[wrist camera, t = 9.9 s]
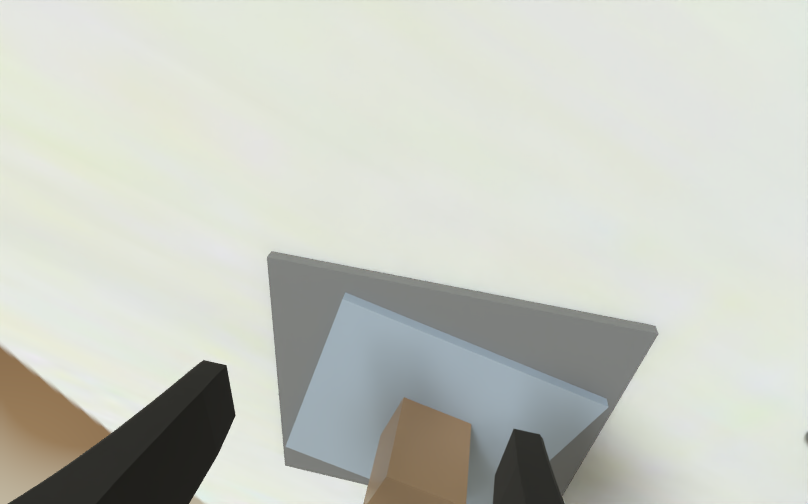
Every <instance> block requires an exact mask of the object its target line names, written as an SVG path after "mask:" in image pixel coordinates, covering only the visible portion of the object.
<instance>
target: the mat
mask: <svg viewBox="0 0 808 504" xmlns="http://www.w3.org/2000/svg"><path fill="white" fill-rule="evenodd" d="M267 262H268V274H269V285H270V297H271V308H272V320H273V331H274V343H275V354H276V365H277V377H278V388H279V400H280V411H281V423H282V434H283V446H284V457H285V465H286V466H290V467H294V468H298V469H302V470H307V471H311V472H315V473H319V474H323V475H328V476H332V477H336V478H340V479H344V480H349V481H353V482H357V483H361V484H365V485H368V483H369V479H368V478H366V477H363V476H361V475H358V474H355V473H353V472H350V471H348V470H345V469H342V468H340V467H337V466H335V465H332V464H329V463H327V462H324V461H322V460H319V459H316V458H314V457H311V456H309V455H306V454H303V453H301V452H298V451H296V450H293V449H290V448H288V447H285V446H286V444H287V441H288V439H289V436H290V434H291V431H292V428H293V426H294V423H295V421H296V418H297V415H298V413H299V410H300V408H301V405H302V403H303V400H304V397H305V395H306V392H307V390H308V387H309V384H310V382H311V379H312V377H313V374H314V371H315V369H316V366H317V364H318V361H319V359H320V356H321V353H322V351H323V348H324V346H325V343H326V340H327V338H328V335H329V333H330V330H331V328H332V325H333V322H334V320H335V317H336V315H337V312H338V309H339V307H340V304H341V302H342V299H343V297H344V295H345V293H348V294H351V295H353V296H355V297H358V298H360V299H363V300H365V301H368V302H370V303H373V304H375V305H378V306H380V307H382V308H385V309H387V310H390V311H392V312H395V313H397V314H400V315H402V316H405V317H407V318H409V319H412V320H414V321H417V322H419V323H422V324H424V325H427V326H429V327H432V328H434V329H437V330H439V331H441V332H444V333H446V334H449V335H451V336H454V337H456V338H459V339H461V340H464V341H466V342H468V343H471V344H473V345H476V346H478V347H481V348H483V349H486V350H488V351H491V352H493V353H495V354H498V355H500V356H503V357H505V358H508V359H510V360H513V361H515V362H518V363H520V364H522V365H525V366H527V367H530V368H532V369H535V370H537V371H540V372H542V373H545V374H547V375H549V376H552V377H554V378H557V379H559V380H562V381H564V382H567V383H569V384H572V385H574V386H577V387H579V388H581V389H584V390H586V391H589V392H591V393H594V394H596V395H599V396H601V397H604V398H606V399H607V402H608V406H609V407H608V408H607V409H606V410H605V411H604V412H603V413H602V414H601V415H599V416H598V417H597V418H596V419H595V420H594V421H593V422H592V423H591V424H590V425H588V426H587V427H586V428H585V429H584V430H583V431H582V432H581V433H580V434H578V435H577V436H576V437H575V438H574V439H573V440H572V441H571V442H570V443H569V444H567V445H566V446H565V447H564V448H563V449H562V450H561V451H560V452H559V453H558V454H556V455H555V456H554V457H553V458H552V459H551V460H550V464H551V467H552V470H553V473H554V476H555V479H556V482H557V485H558V487H559V490H560V493H561V496H562V495H563V494H564V492H565V490H566V488H567V487H568V485H569V483H570V482H571V480H572V478H573V477H574V475H575V473H576V472H577V470H578V468H579V467H580V465H581V463H582V462H583V460H584V458H585V456H586V455H587V453H588V451H589V450H590V448H591V446H592V445H593V443H594V441H595V440H596V438H597V436H598V435H599V433H600V431H601V430H602V428H603V426H604V424H605V423H606V421H607V419H608V418H609V416H610V414H611V413H612V411H613V409H614V408H615V406H616V404H617V403H618V401H619V399H620V398H621V396H622V394H623V392H624V391H625V389H626V387H627V386H628V384H629V382H630V381H631V379H632V377H633V376H634V374H635V372H636V371H637V369H638V367H639V366H640V364H641V362H642V360H643V359H644V357H645V355H646V354H647V352H648V350H649V349H650V347H651V345H652V344H653V342H654V340H655V339H656V337H657V335H658V332H657V329H656V327H655V326H653V325H648V324H643V323H637V322H632V321H627V320H622V319H617V318H612V317H607V316H601V315H596V314H591V313H586V312H581V311H576V310H571V309H565V308H560V307H555V306H550V305H545V304H540V303H534V302H529V301H524V300H519V299H514V298H509V297H504V296H498V295H493V294H488V293H483V292H478V291H473V290H467V289H462V288H457V287H452V286H447V285H442V284H437V283H431V282H426V281H421V280H416V279H411V278H406V277H400V276H395V275H390V274H385V273H380V272H375V271H370V270H364V269H359V268H354V267H349V266H344V265H339V264H334V263H328V262H323V261H318V260H313V259H308V258H303V257H297V256H292V255H287V254H282V253H277V252H272V251H271V253H270V254H269V255H268V257H267Z"/></svg>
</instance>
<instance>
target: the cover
mask: <svg viewBox="0 0 808 504" xmlns="http://www.w3.org/2000/svg"><path fill="white" fill-rule="evenodd" d="M608 407H609V406H608V402H607V399H606V398H604V397H601V396H599V395H596V394H594V393H591V392H589V391H586V390H584V389H581V388H579V387H577V386H574V385H572V384H569V383H567V382H564V381H562V380H559V379H557V378H554V377H552V376H549V375H547V374H545V373H542V372H540V371H537V370H535V369H532V368H530V367H527V366H525V365H522V364H520V363H518V362H515V361H513V360H510V359H508V358H505V357H503V356H500V355H498V354H495V353H493V352H491V351H488V350H486V349H483V348H481V347H478V346H476V345H473V344H471V343H468V342H466V341H464V340H461V339H459V338H456V337H454V336H451V335H449V334H446V333H444V332H441V331H439V330H437V329H434V328H432V327H429V326H427V325H424V324H422V323H419V322H417V321H414V320H412V319H409V318H407V317H405V316H402V315H400V314H397V313H395V312H392V311H390V310H387V309H385V308H382V307H380V306H378V305H375V304H373V303H370V302H368V301H365V300H363V299H360V298H358V297H355V296H353V295H351V294H348V293H345V295H344V297H343V299H342V302H341V304H340V307H339V309H338V312H337V315H336V317H335V320H334V322H333V325H332V328H331V330H330V333H329V335H328V338H327V340H326V343H325V346H324V348H323V351H322V353H321V356H320V359H319V361H318V364H317V366H316V369H315V371H314V374H313V377H312V379H311V382H310V384H309V387H308V390H307V392H306V395H305V397H304V400H303V403H302V405H301V408H300V410H299V413H298V415H297V418H296V421H295V423H294V426H293V428H292V431H291V434H290V436H289V439H288V441H287V444H286V446H285V447H288V448H290V449H293V450H296V451H298V452H301V453H303V454H306V455H309V456H311V457H314V458H316V459H319V460H322V461H324V462H327V463H329V464H332V465H335V466H337V467H340V468H342V469H345V470H348V471H350V472H353V473H355V474H358V475H361V476H363V477H366V478H368V479H369V483H368V487H367V491H366V495H365V499H364V503H363V504H493V493H494V479H495V473H496V471H497V468H498V466H499V463H500V461H501V458H502V456H503V454H504V451H505V449H506V446H507V444H508V441H509V439H510V436H511V434H512V431H513V429H518V430H523V431H527V432H532V433H536V434H540V435H541V437H542V438H543V441H544V444H545V448H546V451H547V454H548V457H549V461H550V460H551V459H552V458H553V457H554V456H555V455H556V454H558V453H559V452H560V451H561V450H562V449H563V448H564V447H565V446H566V445H567V444H569V443H570V442H571V441H572V440H573V439H574V438H575V437H576V436H577V435H578V434H580V433H581V432H582V431H583V430H584V429H585V428H586V427H587V426H588V425H590V424H591V423H592V422H593V421H594V420H595V419H596V418H597V417H598V416H599V415H601V414H602V413H603V412H604V411H605V410H606V409H607V408H608Z"/></svg>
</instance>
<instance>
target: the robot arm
mask: <svg viewBox="0 0 808 504" xmlns="http://www.w3.org/2000/svg"><path fill="white" fill-rule="evenodd" d="M234 418H235V410H234V404H233V399H232V393H231V388H230V382H229V377H228V371H227V366H226V365H223V364H218V363H214V362H209V361H205V360H203V361H202V362H200V363H199V364H198V365H196V366H195V367H194V368H193V369H192V370H190V371H189V372H188V373H187V374H185V375H184V376H183V377H182V378H181V379H179V380H178V381H177V382H176V383H174V384H173V385H172V386H171V387H170V388H168V389H167V390H166V391H165V392H163V393H162V394H161V395H160V396H158V397H157V398H156V399H155V400H154V401H152V402H151V403H150V404H149V405H147V406H146V407H145V408H143V409H142V410H141V411H140V412H138V413H137V414H136V415H134V416H133V417H132V418H131V419H129V420H128V421H127V422H125V423H124V424H123V425H122V426H120V427H119V428H118V429H116V430H115V431H114V432H112V433H111V434H110V435H108V436H107V437H106V438H104V439H103V440H101V441H100V442H99V443H97V444H96V445H95V446H93V447H92V448H91V449H89V450H88V451H86V452H85V453H83V454H82V455H81V456H79V457H78V458H77V459H75V460H74V461H72V462H71V463H69V464H68V465H67V466H65V467H64V468H62V469H61V470H59V471H58V472H57V473H55V474H53V475H52V476H50V477H49V478H47V479H46V480H44V481H43V482H41V483H40V484H38V485H37V486H35V487H33V488H32V489H30V490H29V491H27V492H26V493H24V494H23V495H21V496H19V497H18V498H16V499H15V500H13V501H11V502H10V503H8V504H189V503H190V501H191V499H192V498H193V496H194V494H195V493H196V491H197V489H198V488H199V486H200V484H201V483H202V481H203V479H204V477H205V476H206V474H207V472H208V471H209V469H210V467H211V466H212V464H213V462H214V460H215V459H216V457H217V455H218V453H219V451H220V449H221V447H222V444H223V442H224V440H225V438H226V436H227V434H228V431H229V429H230V427H231V424H232V422H233V420H234ZM493 504H564V501H563V499H562V496H561V493H560V490H559V487H558V485H557V482H556V479H555V476H554V473H553V470H552V467H551V464H550V461H549V457H548V454H547V451H546V448H545V444H544V441H543V438H542V437H541V435H540V434H536V433H532V432H527V431H523V430H518V429H513V431H512V434H511V436H510V439H509V441H508V444H507V446H506V449H505V451H504V454H503V456H502V458H501V461H500V463H499V466H498V468H497V471H496V473H495V479H494V493H493Z"/></svg>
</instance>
